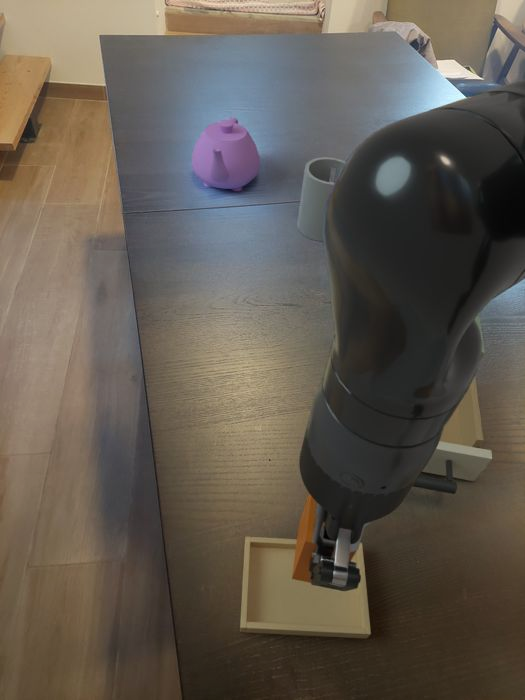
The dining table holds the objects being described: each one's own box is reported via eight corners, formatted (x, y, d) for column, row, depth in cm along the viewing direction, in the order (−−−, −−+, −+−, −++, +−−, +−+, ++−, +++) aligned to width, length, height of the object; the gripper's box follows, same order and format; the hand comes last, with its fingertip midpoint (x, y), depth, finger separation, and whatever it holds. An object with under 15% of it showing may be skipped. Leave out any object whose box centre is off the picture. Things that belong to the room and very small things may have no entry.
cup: (303, 243, 96) (312, 185, 86) (292, 214, 101) (299, 158, 92) (349, 239, 97) (363, 183, 88) (336, 212, 103) (347, 156, 94)
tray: (358, 549, 59) (362, 542, 57) (366, 638, 53) (371, 634, 51) (244, 542, 58) (245, 536, 57) (239, 632, 52) (240, 627, 51)
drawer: (477, 512, 62) (497, 491, 57) (367, 492, 63) (378, 469, 58) (462, 374, 76) (477, 349, 71) (372, 359, 77) (381, 333, 72)
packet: (335, 588, 46) (356, 551, 39) (291, 579, 46) (304, 541, 39) (339, 534, 49) (359, 491, 42) (298, 526, 50) (311, 482, 42)
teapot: (249, 212, 101) (252, 154, 92) (179, 202, 102) (175, 144, 92) (265, 161, 114) (269, 106, 105) (203, 153, 115) (201, 97, 105)
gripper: (434, 565, 26) (364, 637, 39) (424, 357, 36) (370, 471, 49) (292, 536, 27) (268, 617, 40) (319, 339, 36) (293, 456, 49)
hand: (324, 536), depth 44 cm, fingers closed on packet, 5 cm apart
